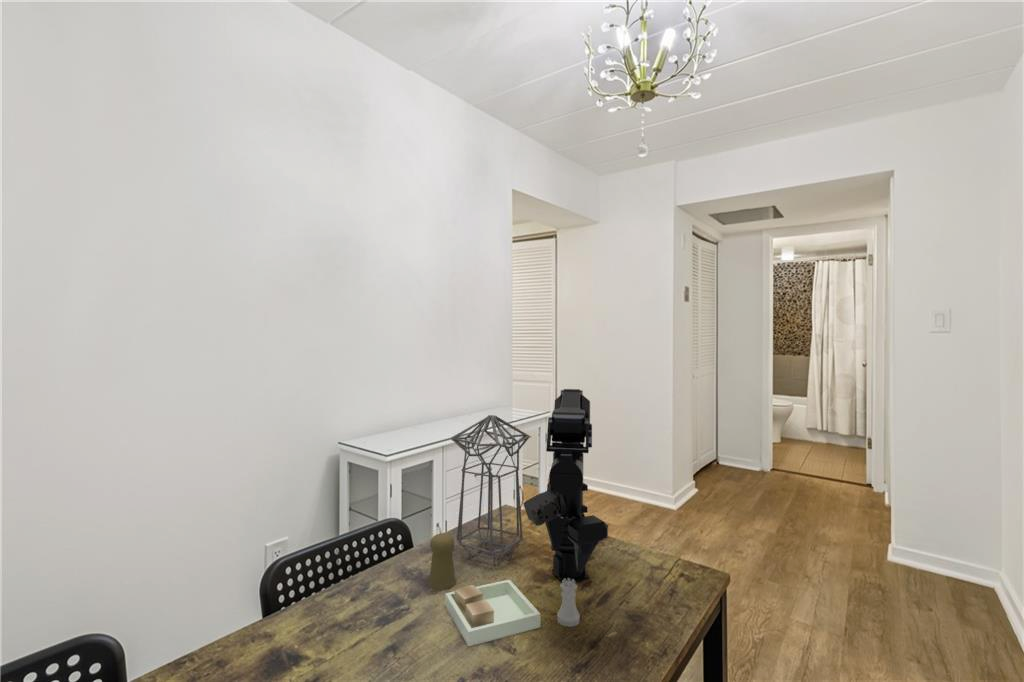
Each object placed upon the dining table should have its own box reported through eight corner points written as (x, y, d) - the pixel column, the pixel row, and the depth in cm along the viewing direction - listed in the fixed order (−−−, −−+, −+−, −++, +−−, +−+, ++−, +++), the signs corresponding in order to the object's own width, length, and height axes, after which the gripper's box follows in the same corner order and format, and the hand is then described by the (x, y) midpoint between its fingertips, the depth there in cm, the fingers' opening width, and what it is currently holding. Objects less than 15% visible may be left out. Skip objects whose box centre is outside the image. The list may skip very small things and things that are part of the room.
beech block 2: (485, 620, 94) (485, 599, 94) (493, 632, 90) (493, 610, 90) (465, 625, 92) (465, 604, 92) (472, 637, 88) (472, 615, 88)
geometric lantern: (445, 563, 118) (446, 416, 119) (481, 541, 132) (482, 409, 132) (502, 579, 110) (503, 421, 111) (534, 554, 124) (534, 413, 125)
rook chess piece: (582, 619, 95) (582, 577, 95) (577, 632, 91) (578, 588, 91) (559, 614, 97) (560, 573, 97) (554, 627, 93) (554, 584, 93)
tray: (509, 594, 104) (509, 579, 104) (540, 630, 92) (540, 613, 92) (445, 608, 99) (445, 593, 99) (468, 649, 86) (468, 632, 86)
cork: (450, 594, 104) (451, 542, 104) (423, 591, 105) (424, 539, 105) (459, 580, 110) (460, 531, 110) (433, 577, 111) (434, 529, 111)
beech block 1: (472, 604, 99) (472, 584, 99) (482, 613, 96) (482, 593, 96) (454, 610, 97) (454, 590, 97) (464, 620, 94) (464, 599, 94)
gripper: (509, 469, 99) (508, 547, 99) (553, 498, 82) (553, 592, 82) (558, 464, 104) (557, 538, 104) (610, 490, 87) (609, 579, 87)
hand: (567, 560), depth 94 cm, fingers open, 9 cm apart
